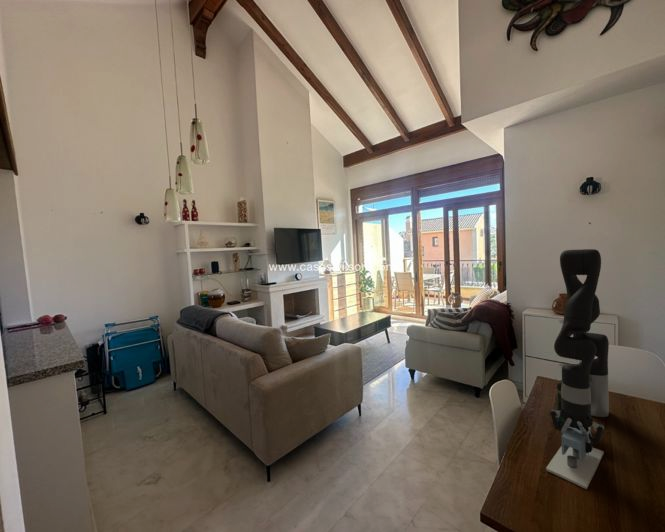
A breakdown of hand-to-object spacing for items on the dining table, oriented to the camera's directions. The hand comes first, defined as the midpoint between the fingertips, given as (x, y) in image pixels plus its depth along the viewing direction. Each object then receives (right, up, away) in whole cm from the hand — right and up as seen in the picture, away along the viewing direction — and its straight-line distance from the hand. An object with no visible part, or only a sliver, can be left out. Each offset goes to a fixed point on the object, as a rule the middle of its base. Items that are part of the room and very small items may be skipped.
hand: (576, 447), depth 97 cm
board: (-1, -4, -1) cm, 4 cm away
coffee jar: (+12, -3, +17) cm, 21 cm away
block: (0, -1, 0) cm, 1 cm away
